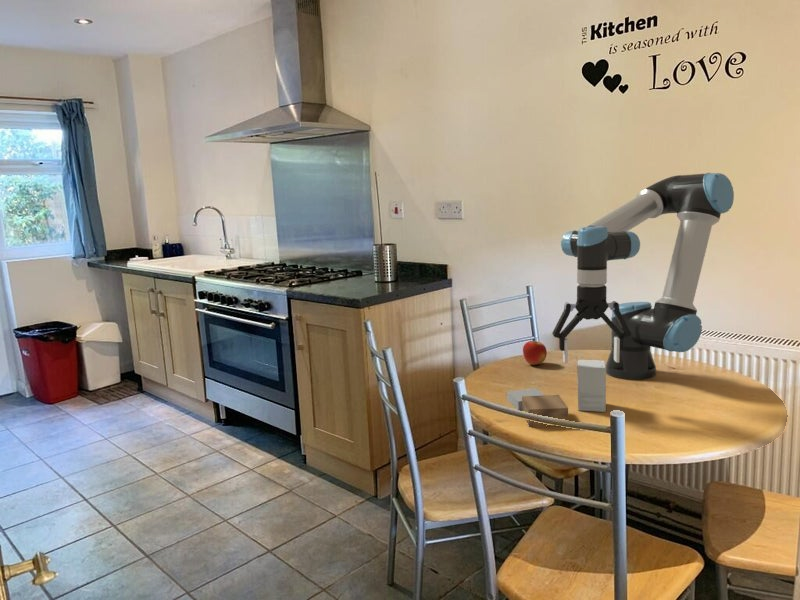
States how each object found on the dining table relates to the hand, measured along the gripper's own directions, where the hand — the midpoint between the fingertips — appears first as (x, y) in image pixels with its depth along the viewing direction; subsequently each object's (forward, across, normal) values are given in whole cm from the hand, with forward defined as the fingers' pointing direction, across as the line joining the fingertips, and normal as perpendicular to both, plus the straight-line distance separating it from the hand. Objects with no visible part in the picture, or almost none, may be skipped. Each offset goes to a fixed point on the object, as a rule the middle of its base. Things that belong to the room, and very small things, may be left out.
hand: (590, 361), depth 156 cm
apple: (+13, +10, -42) cm, 45 cm away
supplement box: (+13, 0, 0) cm, 13 cm away
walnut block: (+14, +14, +8) cm, 21 cm away
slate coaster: (+14, +16, -4) cm, 22 cm away
